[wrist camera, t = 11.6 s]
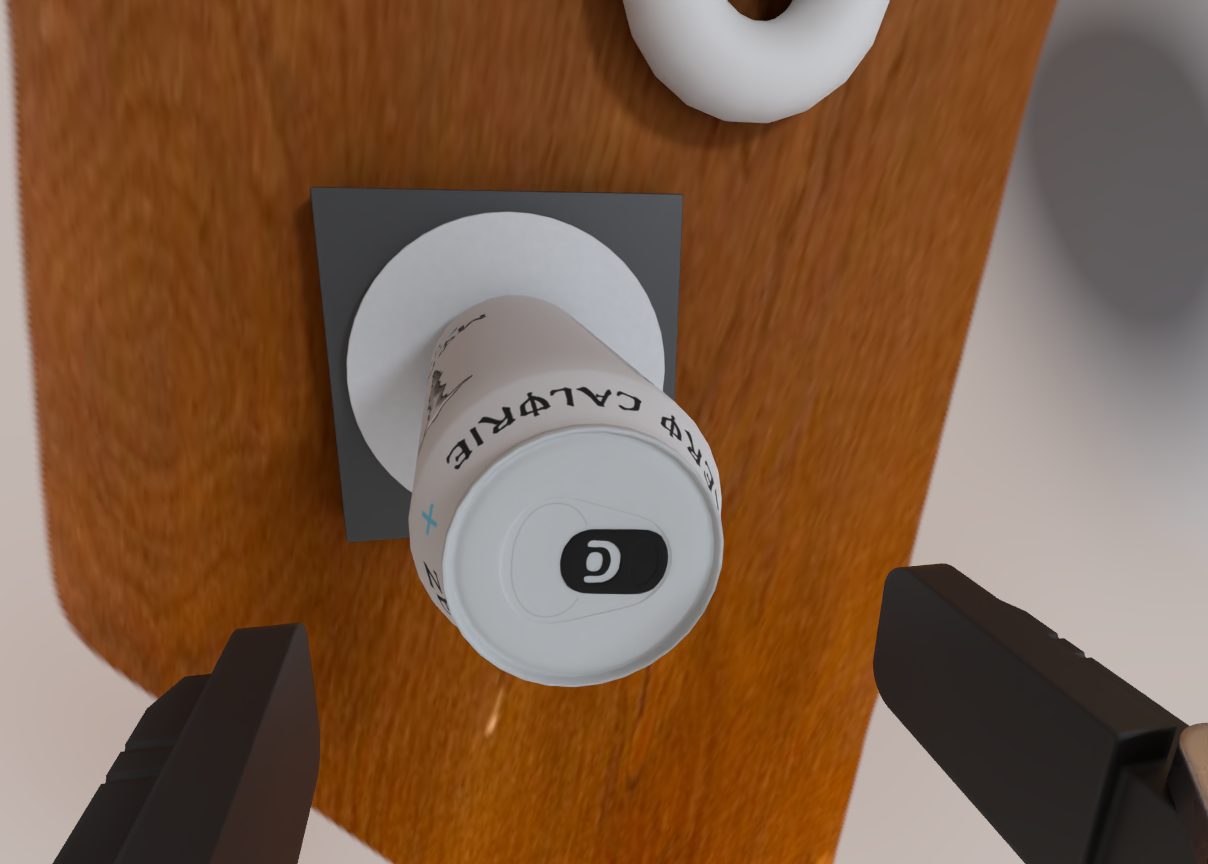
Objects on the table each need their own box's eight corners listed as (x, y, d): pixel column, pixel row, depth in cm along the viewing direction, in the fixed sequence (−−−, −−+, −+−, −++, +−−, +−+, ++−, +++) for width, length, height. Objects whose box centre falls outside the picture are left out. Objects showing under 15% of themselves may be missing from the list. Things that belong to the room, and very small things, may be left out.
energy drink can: (433, 283, 24) (409, 376, 10) (602, 300, 26) (784, 401, 12) (425, 449, 26) (396, 723, 12) (585, 456, 27) (727, 710, 13)
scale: (320, 189, 25) (304, 186, 23) (668, 195, 28) (690, 193, 25) (353, 524, 29) (343, 554, 27) (656, 502, 32) (675, 528, 29)
